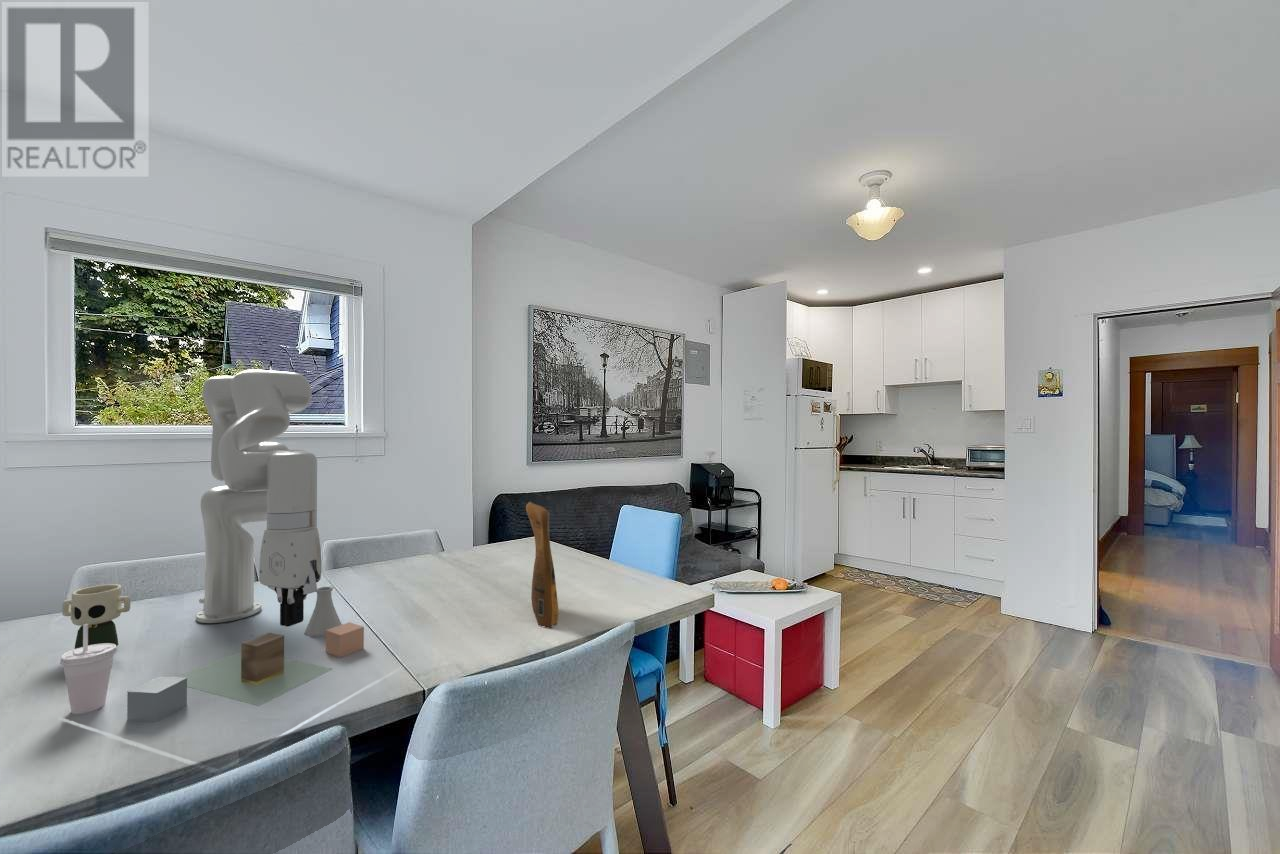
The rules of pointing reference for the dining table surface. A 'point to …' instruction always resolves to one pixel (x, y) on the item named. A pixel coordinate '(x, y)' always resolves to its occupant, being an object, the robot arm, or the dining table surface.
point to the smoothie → (88, 674)
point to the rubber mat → (227, 683)
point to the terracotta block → (344, 639)
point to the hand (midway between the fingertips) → (291, 623)
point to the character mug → (96, 612)
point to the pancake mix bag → (543, 569)
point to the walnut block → (262, 658)
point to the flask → (323, 614)
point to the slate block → (156, 699)
